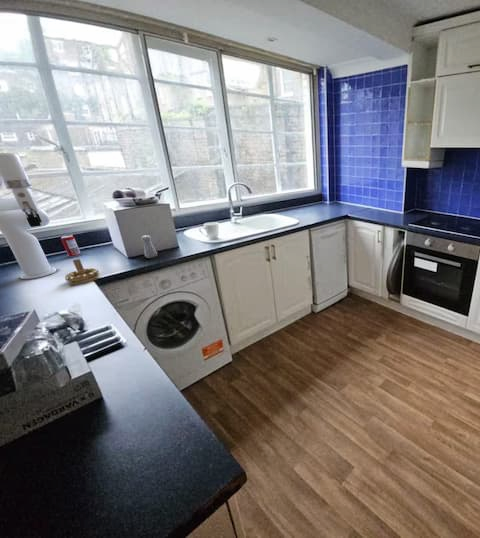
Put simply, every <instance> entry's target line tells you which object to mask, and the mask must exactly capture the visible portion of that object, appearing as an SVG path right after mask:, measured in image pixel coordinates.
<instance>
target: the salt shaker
mask: <svg viewBox="0 0 480 538" xmlns="http://www.w3.org/2000/svg"><path fill="white" fill-rule="evenodd" d="M140 240H141V242H143V250H144V251H143V252H144V253H143V255H144V257H145V258H146V259H153V258H156V257H157V256H158V252H157V250H156V248H155V247H154V245H153V243H152V241H151V240H152V237H151V235H142V236H141V237H140Z"/></svg>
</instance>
